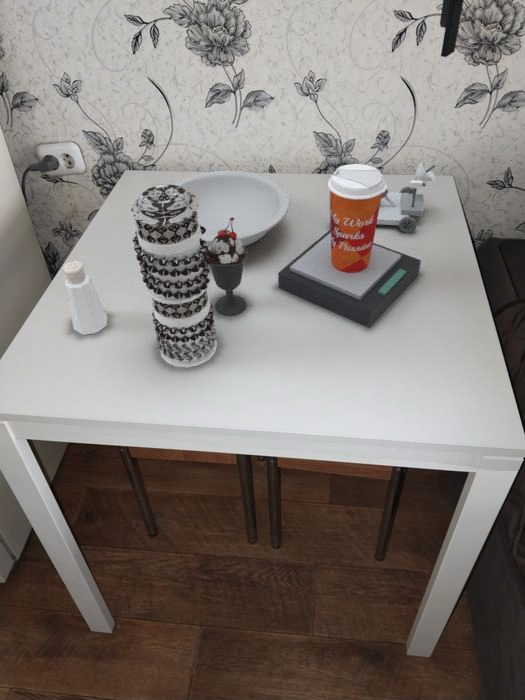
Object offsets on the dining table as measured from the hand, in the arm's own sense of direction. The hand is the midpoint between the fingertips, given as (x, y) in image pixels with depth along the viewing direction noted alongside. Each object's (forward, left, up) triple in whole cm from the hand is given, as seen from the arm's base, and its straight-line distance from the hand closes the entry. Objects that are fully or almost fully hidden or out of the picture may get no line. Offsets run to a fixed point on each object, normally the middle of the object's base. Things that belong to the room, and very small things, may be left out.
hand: (495, 63), depth 78 cm
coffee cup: (+11, +15, -28) cm, 34 cm away
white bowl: (+37, +16, -32) cm, 51 cm away
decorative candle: (+22, +42, -32) cm, 57 cm away
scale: (+11, +15, -32) cm, 37 cm away
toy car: (+17, -6, -32) cm, 36 cm away
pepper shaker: (+38, +47, -32) cm, 68 cm away
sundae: (+23, +31, -32) cm, 50 cm away
